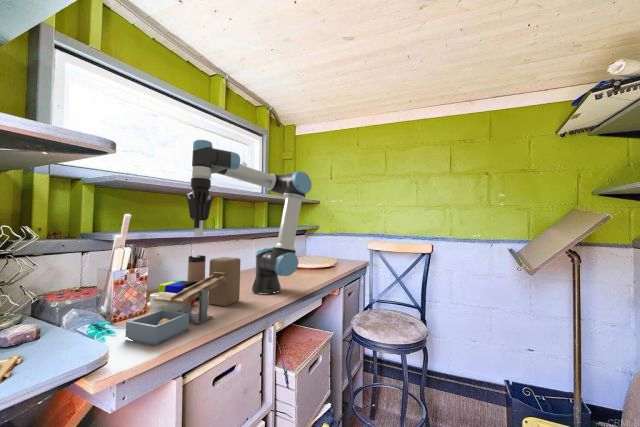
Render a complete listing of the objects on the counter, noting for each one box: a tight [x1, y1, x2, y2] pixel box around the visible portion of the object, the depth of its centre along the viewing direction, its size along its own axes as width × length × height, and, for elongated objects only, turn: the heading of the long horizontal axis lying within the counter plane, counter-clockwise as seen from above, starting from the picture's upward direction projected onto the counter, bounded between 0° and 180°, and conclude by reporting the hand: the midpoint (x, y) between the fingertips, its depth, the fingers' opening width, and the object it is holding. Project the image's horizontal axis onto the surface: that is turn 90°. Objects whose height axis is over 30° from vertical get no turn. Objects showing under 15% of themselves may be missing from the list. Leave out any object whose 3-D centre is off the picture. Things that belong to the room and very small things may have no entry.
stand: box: [181, 287, 214, 326], centre depth 99 cm, size 7×11×11 cm, turn 72°
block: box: [208, 256, 242, 307], centre depth 121 cm, size 10×10×20 cm
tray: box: [125, 310, 190, 347], centre depth 84 cm, size 13×12×6 cm
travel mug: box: [186, 255, 207, 301], centre depth 127 cm, size 8×8×20 cm
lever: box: [153, 272, 226, 305], centre depth 103 cm, size 22×14×3 cm, turn 162°
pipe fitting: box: [146, 292, 168, 313], centre depth 103 cm, size 6×7×8 cm
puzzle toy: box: [157, 279, 196, 312], centre depth 114 cm, size 10×10×10 cm
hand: (198, 236), depth 107 cm, fingers closed
